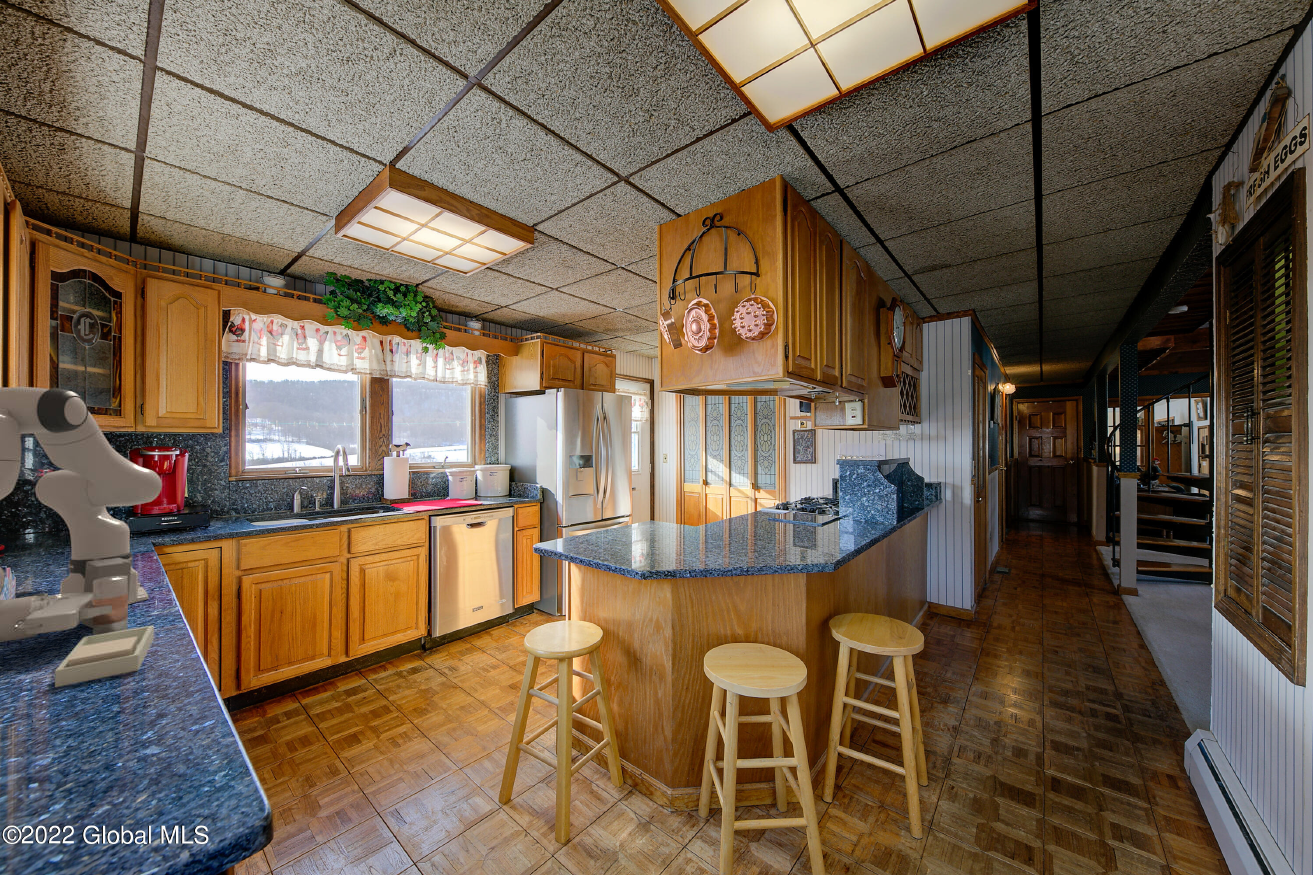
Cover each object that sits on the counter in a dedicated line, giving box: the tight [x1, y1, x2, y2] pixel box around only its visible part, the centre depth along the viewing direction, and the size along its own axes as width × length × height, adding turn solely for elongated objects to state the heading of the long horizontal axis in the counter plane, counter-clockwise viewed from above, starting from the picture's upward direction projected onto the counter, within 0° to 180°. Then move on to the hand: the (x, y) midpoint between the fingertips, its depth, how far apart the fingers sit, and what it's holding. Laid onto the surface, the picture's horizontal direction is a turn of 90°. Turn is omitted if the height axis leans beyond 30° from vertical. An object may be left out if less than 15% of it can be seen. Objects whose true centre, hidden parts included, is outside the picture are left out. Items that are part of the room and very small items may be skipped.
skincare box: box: [80, 558, 132, 629], centre depth 129 cm, size 8×7×16 cm
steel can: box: [92, 576, 129, 636], centre depth 119 cm, size 6×6×14 cm
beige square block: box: [68, 636, 138, 667], centre depth 101 cm, size 8×8×4 cm
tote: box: [54, 624, 155, 688], centre depth 104 cm, size 21×11×4 cm, turn 39°
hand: (115, 604), depth 119 cm, fingers closed on steel can, 6 cm apart
